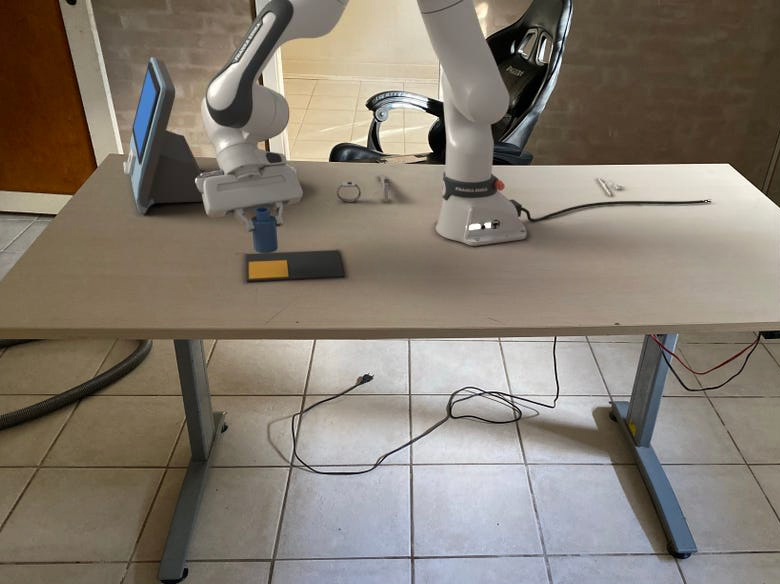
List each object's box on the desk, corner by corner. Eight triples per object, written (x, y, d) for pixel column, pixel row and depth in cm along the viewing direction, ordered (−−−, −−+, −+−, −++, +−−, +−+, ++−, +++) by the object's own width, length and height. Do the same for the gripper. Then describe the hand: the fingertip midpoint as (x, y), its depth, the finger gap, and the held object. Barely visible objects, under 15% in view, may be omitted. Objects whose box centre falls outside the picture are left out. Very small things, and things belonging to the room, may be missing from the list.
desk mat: (337, 251, 167) (337, 249, 167) (344, 277, 157) (343, 274, 156) (246, 255, 163) (246, 253, 162) (246, 282, 152) (246, 279, 152)
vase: (277, 243, 156) (274, 205, 152) (278, 252, 152) (275, 214, 148) (254, 244, 155) (250, 205, 151) (254, 253, 151) (250, 214, 147)
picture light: (597, 179, 221) (598, 172, 220) (611, 180, 222) (612, 173, 221) (609, 196, 210) (610, 189, 209) (623, 196, 210) (625, 189, 209)
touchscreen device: (124, 169, 203) (106, 54, 187) (198, 167, 211) (187, 55, 195) (130, 216, 176) (111, 86, 161) (215, 211, 184) (205, 86, 168)
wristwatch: (337, 203, 192) (336, 185, 189) (336, 199, 194) (336, 181, 192) (361, 203, 193) (361, 184, 191) (360, 199, 195) (360, 181, 193)
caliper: (388, 203, 194) (388, 180, 191) (384, 203, 194) (384, 180, 191) (383, 177, 211) (383, 156, 208) (379, 177, 211) (380, 156, 208)
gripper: (194, 166, 144) (218, 230, 143) (291, 153, 155) (314, 213, 153) (190, 181, 149) (213, 243, 148) (284, 168, 160) (306, 225, 159)
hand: (265, 228), depth 151 cm, fingers closed on vase, 5 cm apart
